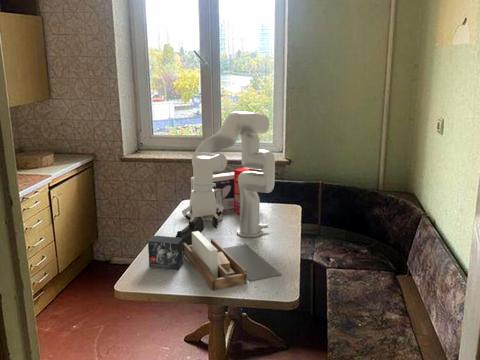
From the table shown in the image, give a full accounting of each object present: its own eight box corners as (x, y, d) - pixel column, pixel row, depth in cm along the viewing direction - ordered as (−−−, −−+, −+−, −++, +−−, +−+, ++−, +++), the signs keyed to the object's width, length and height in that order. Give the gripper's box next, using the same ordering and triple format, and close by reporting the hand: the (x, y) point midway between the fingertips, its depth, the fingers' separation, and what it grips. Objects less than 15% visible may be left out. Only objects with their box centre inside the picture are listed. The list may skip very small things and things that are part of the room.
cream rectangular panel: (198, 259, 206) (198, 231, 202) (217, 280, 186) (217, 249, 183) (192, 260, 205) (191, 232, 201) (210, 282, 185) (210, 251, 182)
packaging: (195, 214, 263) (194, 179, 258) (191, 211, 269) (190, 177, 264) (244, 206, 277) (244, 173, 272) (239, 204, 282) (239, 171, 277)
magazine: (178, 239, 204) (201, 200, 229) (171, 238, 205) (194, 200, 230) (183, 269, 213) (205, 229, 237) (176, 268, 214) (199, 228, 238)
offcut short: (222, 256, 202) (222, 251, 202) (230, 268, 191) (230, 263, 190) (211, 258, 201) (211, 252, 200) (219, 270, 190) (219, 264, 189)
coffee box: (223, 219, 256) (223, 190, 252) (216, 222, 251) (216, 193, 247) (209, 215, 261) (209, 187, 257) (202, 219, 256) (202, 190, 252)
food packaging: (241, 215, 262) (241, 171, 256) (234, 213, 265) (234, 169, 259) (257, 209, 273) (258, 166, 267) (250, 207, 276) (250, 165, 270)
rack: (213, 249, 216) (212, 238, 214) (246, 283, 184) (246, 270, 182) (183, 254, 210) (183, 243, 209) (212, 290, 178) (212, 277, 177)
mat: (245, 245, 221) (245, 244, 221) (281, 275, 191) (281, 274, 191) (217, 249, 216) (217, 249, 215) (250, 281, 186) (250, 280, 185)
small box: (148, 268, 197) (147, 241, 194) (154, 261, 203) (152, 235, 200) (179, 270, 195) (178, 243, 192) (183, 263, 201) (183, 237, 198)
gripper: (219, 183, 193) (219, 223, 197) (178, 187, 186) (179, 228, 190) (227, 187, 187) (226, 229, 191) (184, 191, 180) (185, 234, 184)
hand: (203, 228), depth 190 cm, fingers open, 9 cm apart
